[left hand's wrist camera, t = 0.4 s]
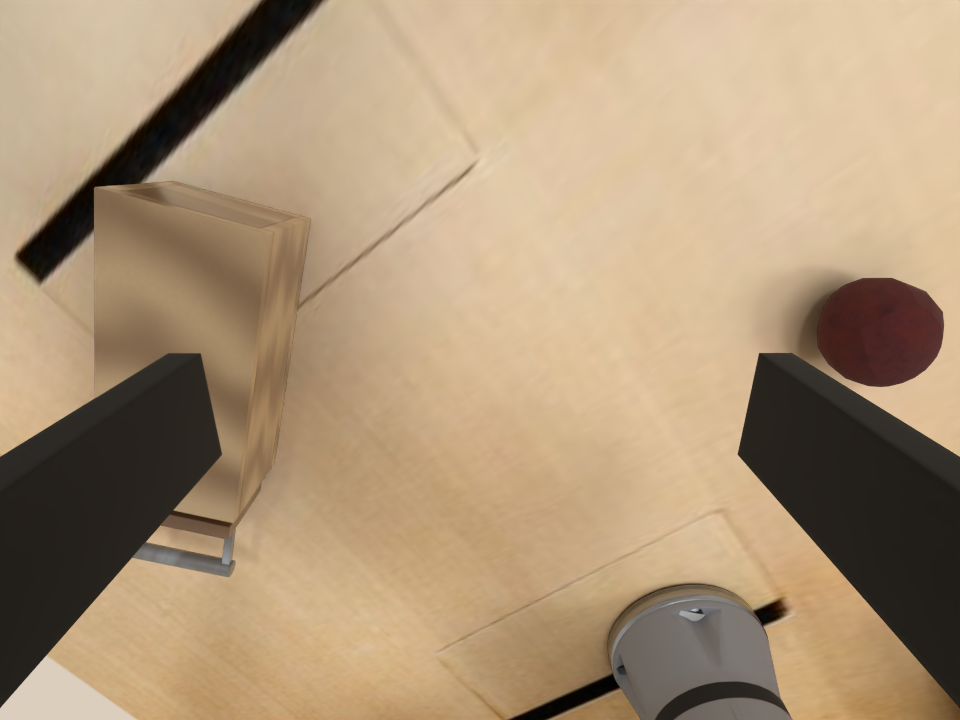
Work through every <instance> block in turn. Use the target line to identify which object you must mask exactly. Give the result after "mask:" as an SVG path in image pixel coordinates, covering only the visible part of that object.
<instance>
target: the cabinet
mask: <svg viewBox="0 0 960 720" xmlns="http://www.w3.org/2000/svg"><path fill="white" fill-rule="evenodd" d="M310 221H311V219H310V218H306V217H302V216H299V215H295V214H291V213H288V212H284V211H280V210H277V209H273V208H269V207H266V206H262V205H259V204H255V203H251V202H248V201H244V200H240V199H237V198H233V197H229V196H226V195H222V194H218V193H215V192H211V191H207V190H204V189H200V188H196V187H193V186H189V185H185V184H182V183H178V182H174V181H169V182H157V183H144V184H130V185H117V186H105V187H95V188H94V330H95V398H96V397H98V396H100V395H101V394H103V393H105V392H106V391H108V390H109V389H111V388H113V387H114V386H116V385H118V384H119V383H121V382H122V381H124V380H126V379H127V378H129V377H130V376H132V375H134V374H135V373H137V372H139V371H140V370H142V369H143V368H145V367H147V366H148V365H150V364H152V363H153V362H155V361H156V360H158V359H160V358H161V357H163V356H164V355H166V354H168V353H201V356H202V361H203V366H204V371H205V375H206V380H207V385H208V390H209V394H210V399H211V404H212V409H213V413H214V418H215V423H216V427H217V432H218V437H219V442H220V446H221V451H222V455H221V457H220V458H219V459H218V460H217V461H216V462H215V463H214V465H213V466H212V467H211V468H210V469H209V470H208V471H207V473H206V474H205V475H204V476H203V477H202V478H201V479H200V481H199V482H198V483H197V484H196V485H195V486H194V487H193V489H192V490H191V491H190V492H189V493H188V494H187V495H186V497H185V498H184V499H183V500H182V501H181V502H180V503H179V505H178V506H177V507H176V508H175V509H174V511H178V512H183V513H188V514H192V515H197V516H202V517H207V518H211V519H216V520H221V521H225V522H230V523H234V522H235V521H236V519H237V518H238V516H239V515H240V513H241V512H242V510H243V509H244V507H245V506H246V504H247V503H248V501H249V500H250V498H251V497H252V495H253V494H254V492H255V491H256V489H257V488H258V487H259V485H260V484H261V482H262V481H263V479H264V478H265V476H266V475H267V473H268V472H269V470H270V469H271V468H272V466H273V465H274V463H275V457H276V450H277V444H278V437H279V430H280V423H281V417H282V410H283V403H284V396H285V390H286V383H287V376H288V369H289V363H290V356H291V349H292V342H293V336H294V329H295V322H296V315H297V309H298V302H299V295H300V288H301V282H302V275H303V268H304V261H305V255H306V248H307V241H308V234H309V228H310Z"/></svg>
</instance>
